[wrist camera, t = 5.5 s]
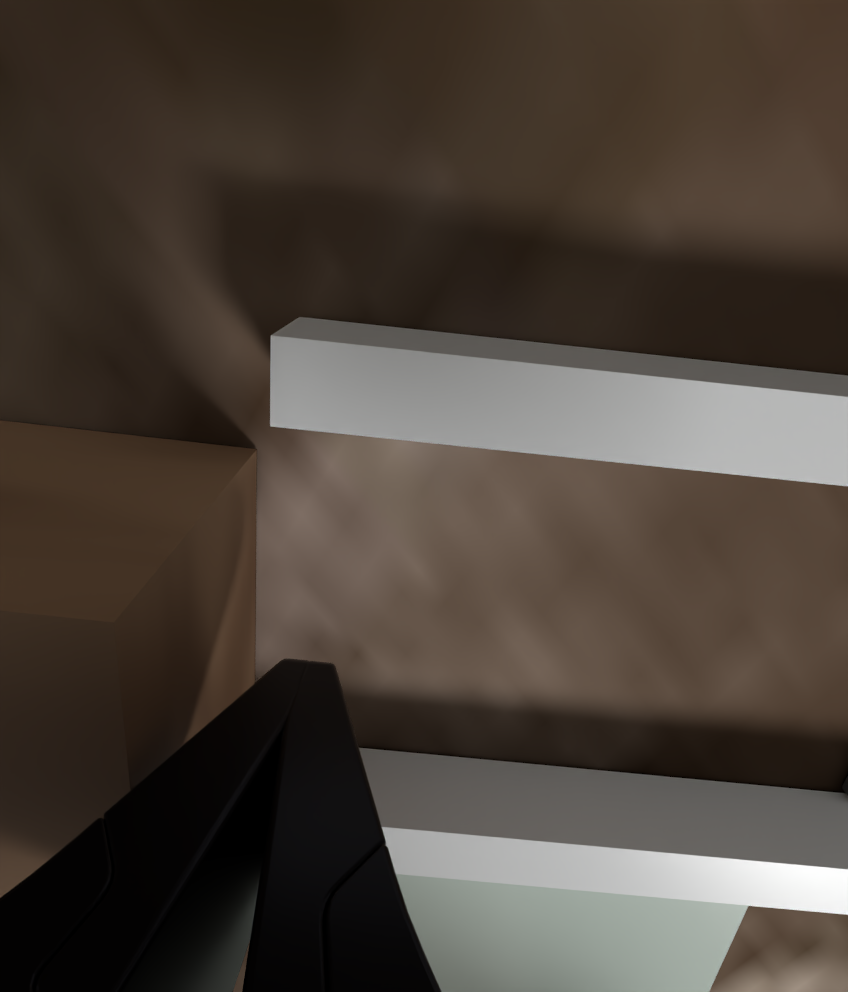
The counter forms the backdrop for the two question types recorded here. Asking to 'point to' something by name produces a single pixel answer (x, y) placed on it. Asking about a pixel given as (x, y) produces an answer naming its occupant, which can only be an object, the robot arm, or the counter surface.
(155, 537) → the block
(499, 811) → the channel
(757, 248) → the counter surface
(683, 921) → the pad
